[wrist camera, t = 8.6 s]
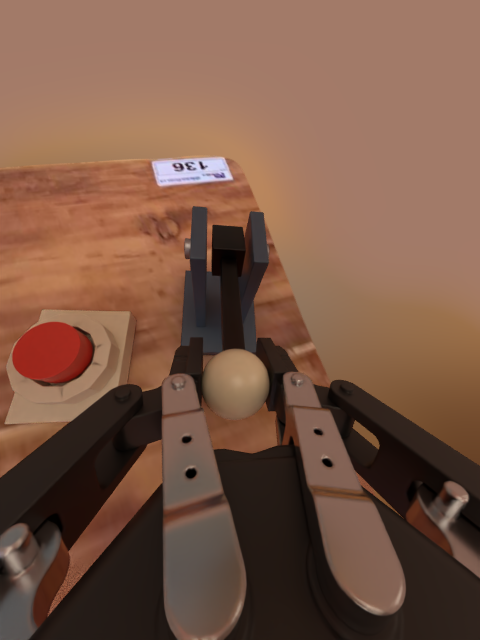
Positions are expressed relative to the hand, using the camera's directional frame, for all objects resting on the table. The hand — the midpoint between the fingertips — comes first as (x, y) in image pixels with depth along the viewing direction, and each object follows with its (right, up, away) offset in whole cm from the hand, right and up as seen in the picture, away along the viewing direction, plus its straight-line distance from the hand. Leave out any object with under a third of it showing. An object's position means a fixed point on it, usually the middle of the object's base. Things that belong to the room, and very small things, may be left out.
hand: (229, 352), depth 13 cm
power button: (-14, -1, +5) cm, 15 cm away
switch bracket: (-2, +3, +13) cm, 14 cm away
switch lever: (0, +2, +2) cm, 2 cm away
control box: (-15, -3, +9) cm, 17 cm away
